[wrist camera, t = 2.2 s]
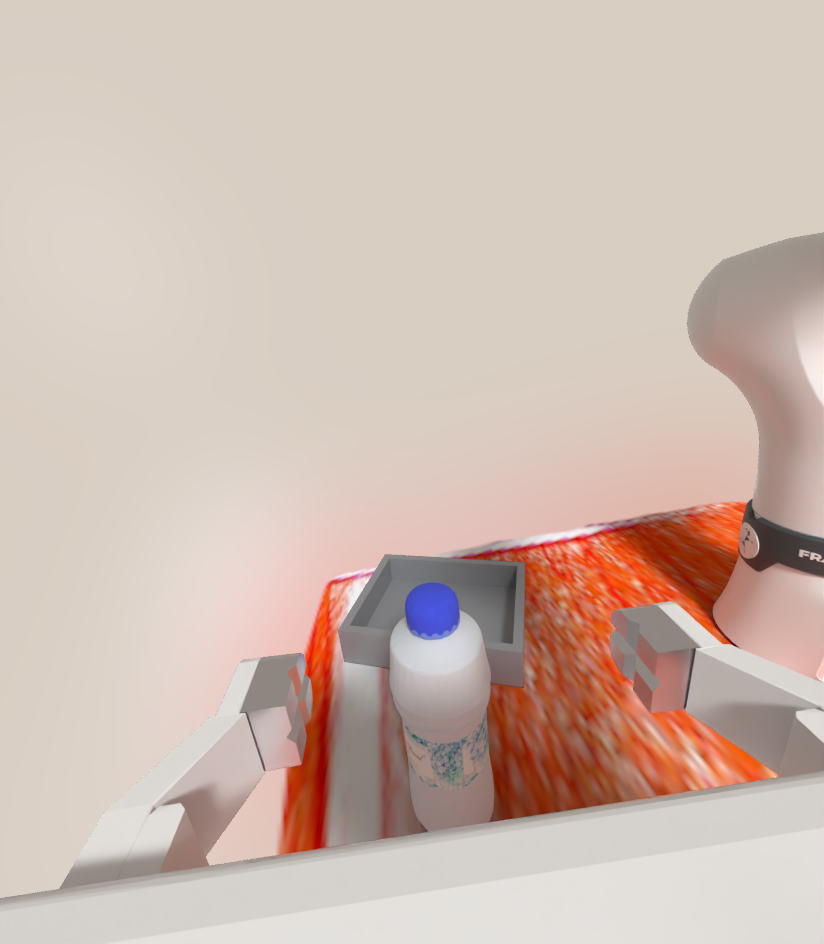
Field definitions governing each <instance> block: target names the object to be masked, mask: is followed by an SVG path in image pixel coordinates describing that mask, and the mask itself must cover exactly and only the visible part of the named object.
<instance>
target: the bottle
mask: <svg viewBox="0 0 824 944" xmlns="http://www.w3.org/2000/svg"><path fill="white" fill-rule="evenodd" d="M405 614H406V616H405V617H404V618H402V619H401V620H400V621H399V622H398V624H397V625H396V626H395V628H394V630H393V632H392V635H391V638H390V674H389V684H390V688H391V691H392V694H393V701H394V704H395V707H396V709H397V711H398V712H399V714H400V716H401V719H402V725H403V731H404V738H405V744H406V750H407V757H408V765H409V783H410V793H411V799H412V804H413V808H414V811H415V814H416V817H417V819H418V820H419V822H421V823H422V825H423V826H424V827H425V828H426V829H427V831H428V832H431V831H437V830H444V829H450V828H457V827H463V826H469V825H476V824H482V823H489V821H490V819H491V817H492V813H493V807H494V781H493V773H492V767H491V761H490V755H489V740H488V723H487V705H488V703H489V699H490V694H491V686H490V681H491V671H490V666H489V663H488V659H487V655H486V650H485V646H484V641H483V637H482V633H481V630H480V628H479V626H478V624H477V623H476V622H475V620H474V619H473V618H472V617H470V616H469V615H468V614H466V613H465V612H463V611H461V610H459V603H458V598H457V596H456V594H455V592H454V591H453V590H452V589H451V588H449V587H448V586H447V585H444V584H441V583H436V582H430V583H424V584H421V585H419V586H417V587H415V588H414V589H413V590H412V591H411V592H410V593H409V594H408V596H407V598H406V602H405Z"/></svg>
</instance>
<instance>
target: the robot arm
mask: <svg viewBox="0 0 824 944" xmlns="http://www.w3.org/2000/svg"><path fill="white" fill-rule="evenodd" d="M687 326H688V334H689V338H690V341H691V343H692V345H693V347H694V349H695V351H696V352H697V353H698V355H699V356H700V357H701V358H702V359H703V360H704V361H705V362H707V363H708V364H709V365H711V366H713V367H714V368H716V369H718V370H719V371H720V372H722V373H723V374H724V375H726V376H727V377H728V378H729V379H730V380H731V381H732V382H733V383H734V384H735V385H737V387H738V388H739V389H740V390H741V392H742V393H743V394H744V396H745V397H746V399H747V400H748V402H749V404H750V406H751V408H752V410H753V413H754V415H755V418H756V421H757V425H758V431H759V459H758V468H757V476H756V484H755V489H754V495H753V499H751V500H750V501H749V502H748V503H747V505H746V509H745V513H744V517H743V522H742V526H741V529H740V534H739V547H738V552H739V556H738V560H737V562H736V565H735V568H734V570H733V573H732V575H731V577H730V579H729V581H728V584H727V585H726V587H725V589H724V591H723V592H722V594H721V596H720V597H719V598H718V600H717V601H716V602H715V604H714V606H713V617H714V619H715V622H716V624H717V625H718V627H719V628H720V629H721V631H722V632H723V633H724V634H725V635H726V636H727V637H728V638H729V639H730V640H731V641H732V642H733V643H735V644H736V645H737V646H738V647H740V648H741V649H740V648H737V647H735V646H733V645H730V644H726V645H723V644H722V643H721V642H719V641H718V640H717V639H716V638H715V637H714V636H713V635H712V634H710V633H709V632H708V631H707V630H706V629H705V628H704V627H703V626H701V625H700V624H699V623H698V622H697V621H696V620H695V619H694V618H692V617H691V616H690V615H689V614H688V613H687V612H686V611H685V610H683V609H682V608H681V607H680V606H679V605H678V604H676V603H674V602H672V601H669V602H662V603H656V604H652V605H645V606H638V607H631V608H624V609H617V610H614V612H613V614H612V619H611V623H612V624H613V625H614V627H615V628H616V630H615V631H614V632H613V634H612V635H611V636H610V650H611V654H612V658H613V660H614V662H615V664H616V666H617V668H618V669H619V671H620V672H621V673H622V675H624V676H625V677H627V678H629V679H631V680H632V681H634V686H633V690H634V692H635V693H636V694H637V696H638V697H639V698H640V700H641V701H642V703H643V704H644V705H645V707H646V708H647V709H648V711H649V712H650V713H658V712H667V711H675V710H684V709H686V712H687V713H689V714H690V715H692V716H693V717H695V718H696V719H698V720H699V721H701V722H702V723H704V724H705V725H707V726H708V727H709V728H711V729H712V730H714V731H715V732H717V733H718V734H720V735H721V736H723V737H724V738H726V739H727V740H729V741H730V742H731V743H733V744H734V745H736V746H737V747H739V748H740V749H742V750H743V751H745V752H746V753H748V754H749V755H751V756H752V757H753V758H755V759H756V760H758V761H759V762H761V763H762V764H764V765H765V766H767V767H768V768H770V769H771V770H773V771H774V772H776V773H777V774H778V777H777V778H772V779H765V780H759V781H752V782H746V783H739V784H733V785H727V786H720V787H714V788H707V789H701V790H694V791H688V792H682V793H675V794H669V795H662V796H656V797H650V798H643V799H637V800H631V801H624V802H618V803H612V804H605V805H599V806H592V807H586V808H580V809H573V810H567V811H560V812H554V813H547V814H541V815H534V816H528V817H521V818H515V819H508V820H502V821H495V822H489V823H482V824H476V825H469V826H463V827H457V828H450V829H444V830H437V831H431V832H424V833H418V834H411V835H405V836H398V837H392V838H385V839H379V840H373V841H366V842H360V843H353V844H347V845H340V846H334V847H327V848H321V849H315V850H308V851H302V852H295V853H289V854H282V855H276V856H270V857H263V858H257V859H250V860H244V861H238V862H231V863H224V864H218V865H211V866H209V864H208V862H207V859H206V856H207V854H208V853H209V851H210V850H211V849H212V847H213V846H214V844H215V843H216V842H217V840H218V839H219V837H220V836H221V834H222V833H223V832H224V830H225V829H226V828H227V826H228V825H229V823H230V822H231V821H232V819H233V818H234V816H235V815H236V814H237V812H238V811H239V809H240V808H241V806H242V805H243V804H244V802H245V801H246V799H247V798H248V797H249V795H250V794H251V792H252V791H253V790H254V788H255V787H256V785H257V784H258V783H259V781H260V780H261V778H262V777H263V776H264V774H265V772H264V771H269V770H275V769H280V768H286V767H292V766H297V765H302V760H303V755H304V749H305V744H306V739H307V735H306V731H305V727H304V726H305V725H306V724H307V723H308V722H309V720H310V718H311V712H312V686H311V682H310V678H309V677H307V676H306V675H305V669H306V661H305V658H304V655H303V654H302V653H296V654H287V655H279V656H269V657H263V658H257V659H247V660H242V661H241V662H240V663H239V664H238V666H237V669H236V671H235V673H234V675H233V677H232V680H231V682H230V684H229V686H228V689H227V691H226V693H225V695H224V698H223V700H222V702H221V705H220V707H219V709H218V711H217V714H216V716H215V717H212V718H208V719H207V720H206V721H205V722H204V723H203V724H202V725H200V727H198V728H197V729H196V730H195V731H194V732H193V733H192V734H190V735H189V736H188V737H187V738H186V739H185V740H184V741H183V742H182V743H180V744H179V745H178V746H177V747H176V748H175V749H174V750H173V751H172V752H171V753H169V755H167V756H166V757H165V758H164V759H163V760H162V761H161V762H159V763H158V764H157V765H156V766H155V767H154V768H153V769H152V770H151V771H150V772H148V773H147V774H146V775H145V776H144V777H143V778H142V779H141V780H140V781H139V782H137V783H136V784H135V785H134V786H133V787H132V788H131V789H130V790H129V791H127V792H126V793H125V794H124V795H123V796H122V797H121V798H120V799H119V800H117V801H116V802H115V803H114V804H113V805H112V806H111V807H110V808H109V809H108V810H106V811H105V812H104V814H103V816H102V818H101V819H100V821H99V823H98V824H97V826H96V828H95V829H94V831H93V833H92V835H91V836H90V838H89V840H88V841H87V843H86V845H85V846H84V848H83V850H82V851H81V853H80V855H79V857H78V858H77V860H76V862H75V863H74V865H73V867H72V869H71V870H70V872H69V874H68V875H67V877H66V879H65V880H64V882H63V884H62V885H61V887H60V889H57V890H50V891H44V892H37V893H32V894H25V895H18V896H12V897H5V898H0V944H824V233H818V234H812V235H806V236H800V237H794V238H789V239H786V240H782V241H779V242H776V243H773V244H769V245H766V246H763V247H760V248H756V249H753V250H750V251H747V252H744V253H742V254H739V255H736V256H733V257H730V258H727V259H724V260H722V261H721V262H720V263H719V264H718V265H717V266H716V267H714V269H713V270H712V271H711V272H710V273H709V274H708V275H707V276H706V277H705V279H704V280H703V281H702V283H701V284H700V286H699V287H698V289H697V291H696V293H695V294H694V297H693V299H692V302H691V304H690V308H689V312H688V320H687Z"/></svg>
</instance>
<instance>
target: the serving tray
mask: <svg viewBox="0 0 824 944" xmlns="http://www.w3.org/2000/svg"><path fill="white" fill-rule="evenodd" d="M430 582H436V583H441V584H444V585H447V586H448V587H449V588H451V589H452V590H453V591H454V592H455V594H456V596H457V598H458V603H459V610H461V611H463V612H465V613H466V614H468V615H469V616H470V617H472V618H473V619H474V620H475V622H476V623H477V624H478V626H479V628H480V630H481V633H482V637H483V641H484V646H485V650H486V655H487V659H488V663H489V666H490V671H491V681H490V683H494V684H501V685H508V686H515V687H521V688H524V645H525V594H526V586H525V562H511V561H493V560H476V559H458V558H440V557H423V556H405V555H388V554H386V555H384V557H383V559H382V561H381V562H380V564H379V565H378V567H377V568H376V570H375V572H374V573H373V575H372V576H371V578H370V580H369V581H368V583H367V584H366V586H365V588H364V589H363V591H362V592H361V594H360V596H359V597H358V599H357V601H356V602H355V604H354V605H353V607H352V609H351V610H350V612H349V613H348V615H347V617H346V618H345V620H344V621H343V623H342V625H341V626H340V628H339V629H338V633H339V638H340V643H341V647H342V652H343V657H344V662H350V663H357V664H364V665H371V666H378V667H384V668H390V638H391V635H392V632H393V630H394V628H395V626H396V625H397V624H398V622H399V621H400V620H401V619H402V618H404V617H405V616H406V614H405V602H406V598H407V596H408V594H409V593H410V592H411V591H412V590H413V589H414V588H415V587H417V586H419V585H421V584H424V583H430Z"/></svg>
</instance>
